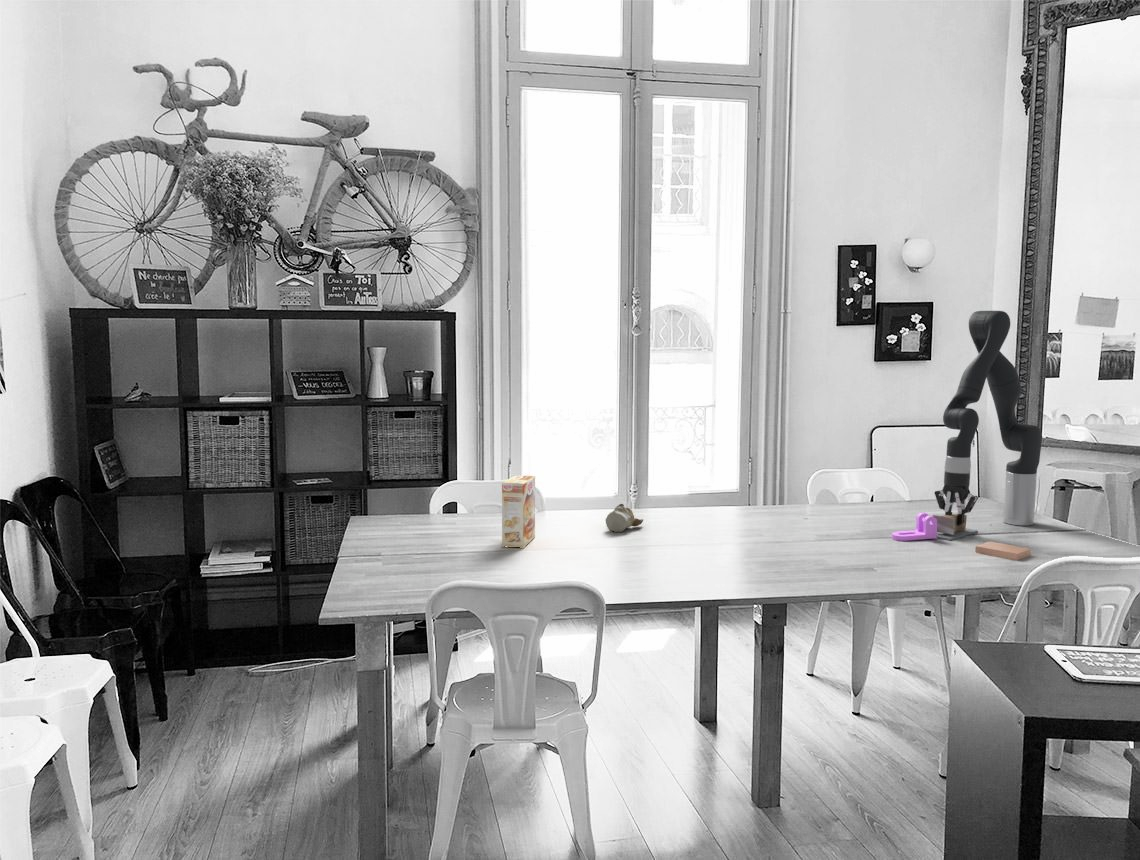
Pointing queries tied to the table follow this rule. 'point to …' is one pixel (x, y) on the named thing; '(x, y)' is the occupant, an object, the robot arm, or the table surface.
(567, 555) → the table surface
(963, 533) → the mat
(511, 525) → the coffeecake box
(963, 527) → the upright plank on base
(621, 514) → the ceramic sculpture
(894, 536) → the bracket
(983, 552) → the tile
